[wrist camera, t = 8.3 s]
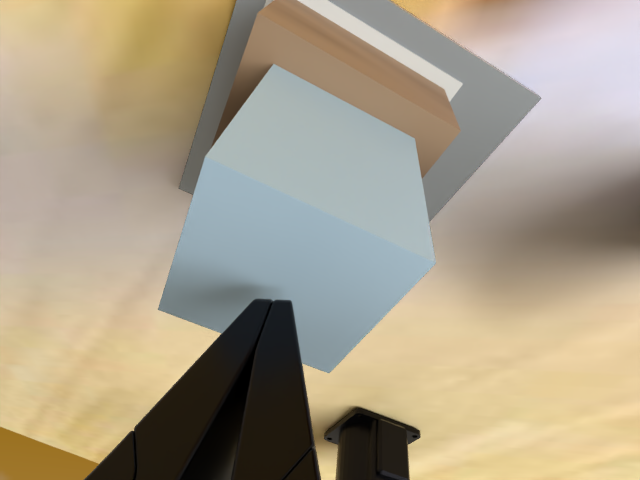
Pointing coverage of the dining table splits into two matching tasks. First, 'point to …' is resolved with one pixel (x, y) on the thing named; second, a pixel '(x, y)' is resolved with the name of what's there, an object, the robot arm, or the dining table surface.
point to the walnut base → (343, 76)
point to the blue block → (303, 219)
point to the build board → (414, 52)
